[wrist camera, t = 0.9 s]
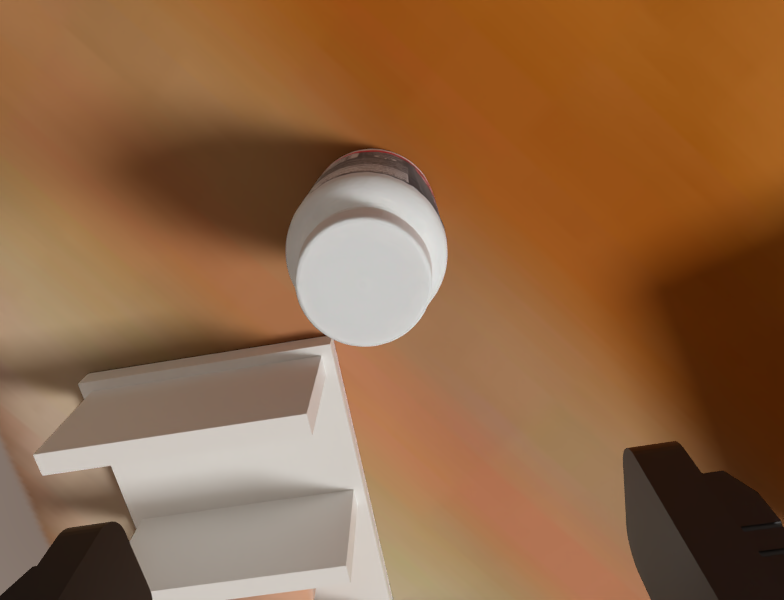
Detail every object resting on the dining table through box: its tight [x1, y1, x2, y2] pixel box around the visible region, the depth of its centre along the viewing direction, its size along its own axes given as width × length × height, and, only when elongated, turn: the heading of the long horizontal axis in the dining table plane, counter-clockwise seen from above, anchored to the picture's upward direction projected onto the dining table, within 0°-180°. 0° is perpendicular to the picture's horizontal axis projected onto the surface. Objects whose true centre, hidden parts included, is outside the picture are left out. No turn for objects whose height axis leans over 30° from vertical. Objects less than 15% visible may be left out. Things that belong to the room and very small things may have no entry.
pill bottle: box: [286, 149, 447, 347], centre depth 22 cm, size 5×5×10 cm
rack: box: [33, 336, 393, 600], centre depth 30 cm, size 17×12×6 cm
